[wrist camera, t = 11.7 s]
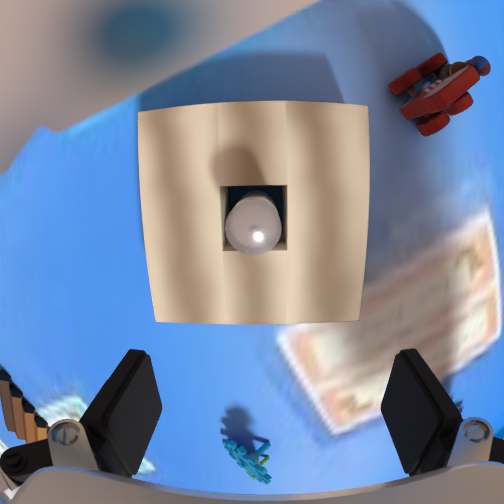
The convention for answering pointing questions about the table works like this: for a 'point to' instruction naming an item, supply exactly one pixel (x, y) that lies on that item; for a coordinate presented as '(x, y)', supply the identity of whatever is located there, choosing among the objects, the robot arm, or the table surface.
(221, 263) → the hole block
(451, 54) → the table surface
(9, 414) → the pan flute
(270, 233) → the steel peg
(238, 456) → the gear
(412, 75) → the toy fire truck
